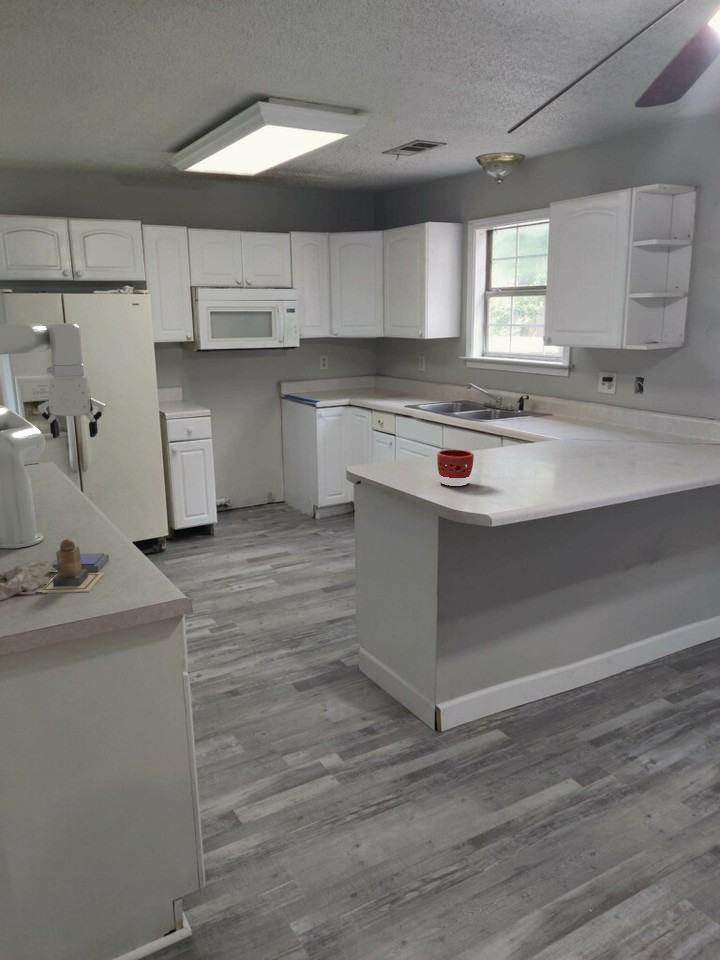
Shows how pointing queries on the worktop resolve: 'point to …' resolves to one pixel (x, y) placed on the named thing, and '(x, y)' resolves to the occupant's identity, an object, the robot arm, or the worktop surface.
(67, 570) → the stamp
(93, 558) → the ink pad
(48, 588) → the card
